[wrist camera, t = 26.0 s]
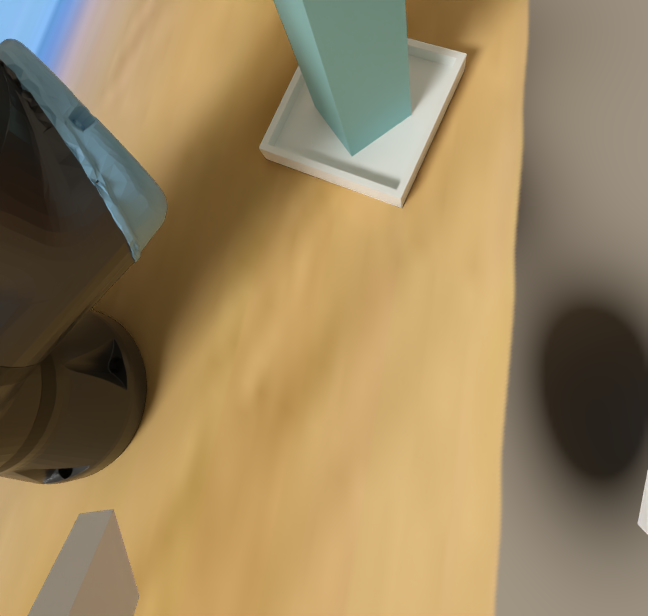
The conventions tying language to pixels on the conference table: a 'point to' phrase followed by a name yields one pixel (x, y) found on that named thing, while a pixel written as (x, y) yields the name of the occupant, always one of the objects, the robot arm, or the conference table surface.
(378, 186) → the tray
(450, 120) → the conference table surface
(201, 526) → the conference table surface
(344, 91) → the teal post
